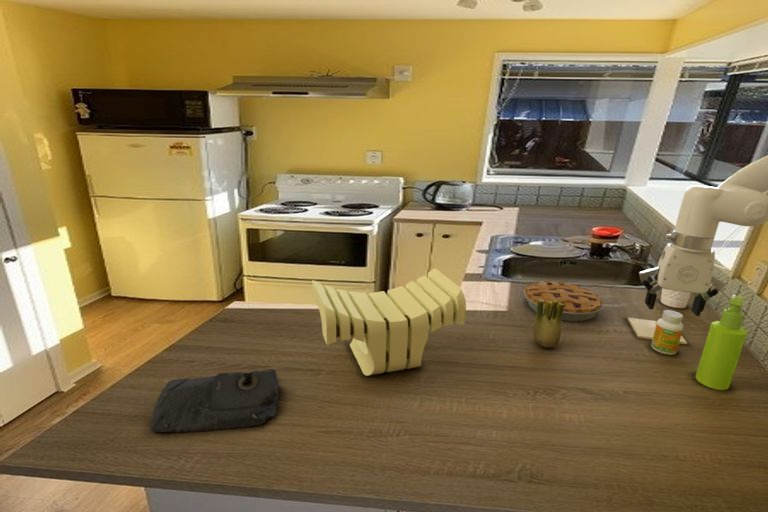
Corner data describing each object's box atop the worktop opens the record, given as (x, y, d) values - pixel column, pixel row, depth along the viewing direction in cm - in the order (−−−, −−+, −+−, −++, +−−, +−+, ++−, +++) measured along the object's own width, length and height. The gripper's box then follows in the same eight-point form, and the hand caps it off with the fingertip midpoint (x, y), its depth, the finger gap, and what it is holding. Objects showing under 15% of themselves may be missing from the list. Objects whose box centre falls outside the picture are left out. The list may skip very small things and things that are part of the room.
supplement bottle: (655, 353, 102) (664, 317, 99) (647, 342, 107) (656, 307, 104) (680, 356, 101) (690, 320, 98) (671, 345, 106) (681, 310, 103)
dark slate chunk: (170, 383, 86) (167, 363, 85) (281, 375, 90) (279, 355, 88) (143, 437, 72) (138, 414, 71) (275, 424, 76) (274, 402, 74)
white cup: (663, 296, 136) (670, 267, 132) (692, 304, 130) (700, 274, 127) (654, 302, 131) (661, 272, 128) (683, 311, 125) (692, 280, 122)
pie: (534, 322, 116) (536, 306, 114) (513, 291, 137) (515, 276, 135) (615, 325, 115) (618, 309, 114) (582, 293, 136) (585, 279, 135)
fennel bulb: (529, 343, 105) (536, 299, 101) (539, 337, 108) (546, 294, 105) (551, 353, 101) (559, 307, 97) (561, 346, 104) (569, 301, 100)
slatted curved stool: (327, 390, 86) (326, 310, 80) (314, 350, 100) (312, 279, 94) (460, 366, 95) (467, 293, 89) (431, 333, 109) (435, 268, 103)
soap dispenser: (691, 383, 91) (717, 297, 85) (698, 370, 96) (723, 288, 89) (725, 395, 87) (755, 307, 81) (731, 382, 92) (759, 297, 85)
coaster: (671, 325, 117) (672, 323, 116) (686, 344, 107) (687, 342, 106) (627, 319, 119) (627, 317, 119) (638, 337, 109) (638, 335, 109)
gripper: (653, 241, 94) (636, 311, 100) (745, 251, 90) (721, 323, 95) (644, 233, 101) (627, 298, 106) (728, 241, 97) (706, 309, 102)
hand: (671, 310), depth 101 cm, fingers open, 9 cm apart
